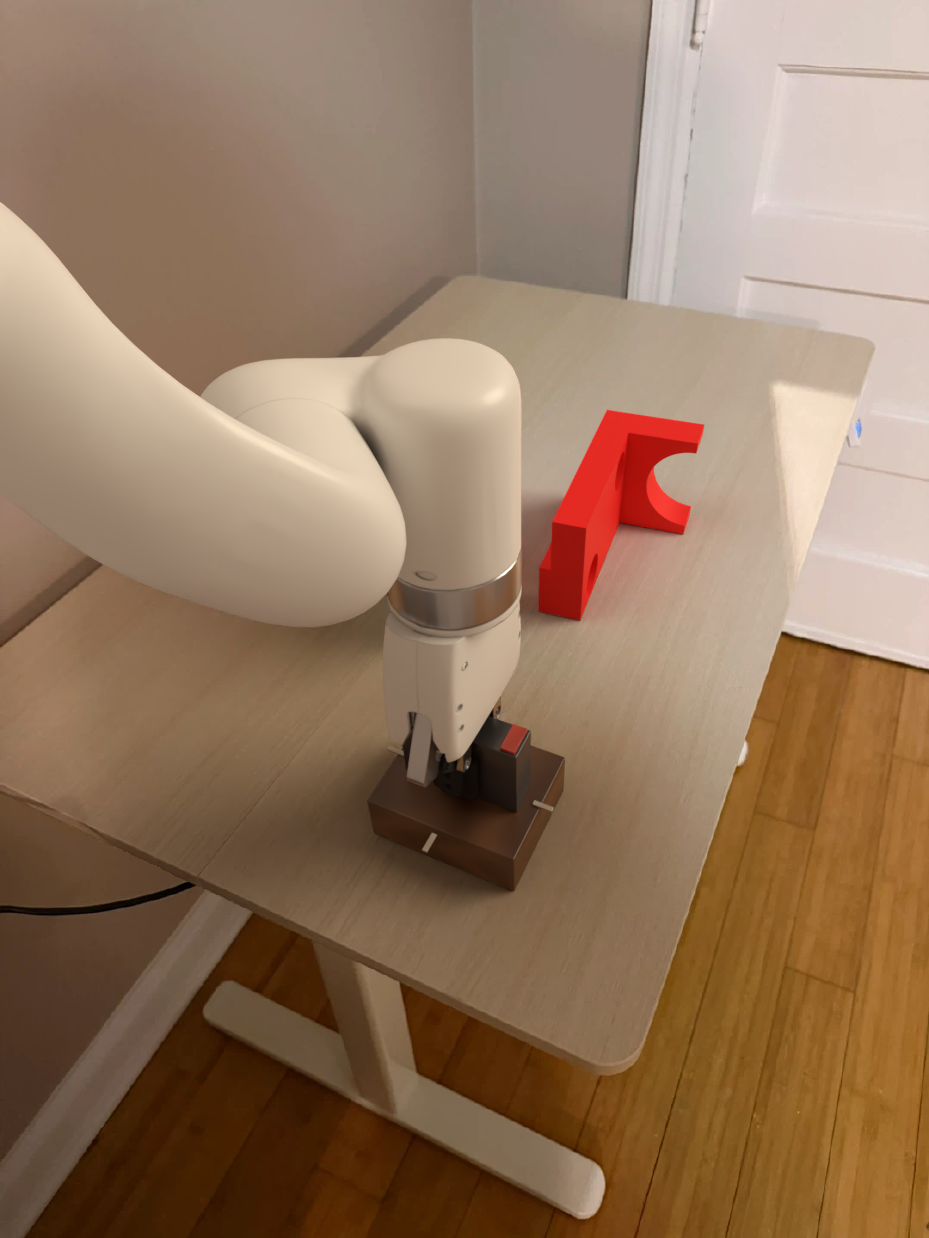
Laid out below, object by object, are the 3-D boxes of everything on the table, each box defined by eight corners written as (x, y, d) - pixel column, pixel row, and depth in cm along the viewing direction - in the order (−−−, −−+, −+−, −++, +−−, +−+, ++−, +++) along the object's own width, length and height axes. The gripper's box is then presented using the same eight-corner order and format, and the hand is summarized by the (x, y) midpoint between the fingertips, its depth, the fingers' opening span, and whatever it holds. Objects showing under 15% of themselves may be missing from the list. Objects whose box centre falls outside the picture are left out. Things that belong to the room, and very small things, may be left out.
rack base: (349, 849, 63) (341, 815, 60) (432, 721, 71) (429, 686, 68) (514, 920, 58) (514, 887, 55) (583, 775, 66) (586, 740, 63)
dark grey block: (405, 770, 62) (396, 712, 58) (421, 745, 64) (414, 687, 60) (516, 812, 59) (516, 755, 55) (530, 785, 61) (531, 728, 57)
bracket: (596, 408, 84) (704, 424, 81) (590, 496, 91) (689, 514, 88) (540, 519, 72) (664, 543, 69) (538, 611, 79) (651, 636, 76)
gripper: (457, 476, 55) (469, 677, 68) (314, 648, 45) (360, 846, 57) (571, 504, 52) (561, 708, 65) (446, 693, 42) (464, 891, 55)
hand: (467, 771), depth 61 cm, fingers closed on dark grey block, 2 cm apart
